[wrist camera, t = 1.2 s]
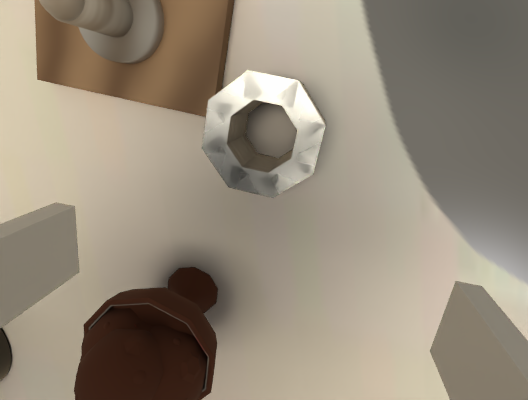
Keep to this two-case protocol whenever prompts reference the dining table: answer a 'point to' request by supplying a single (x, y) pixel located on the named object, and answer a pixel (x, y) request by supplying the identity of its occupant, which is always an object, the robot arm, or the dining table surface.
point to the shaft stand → (136, 48)
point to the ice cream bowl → (151, 343)
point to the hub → (240, 148)
